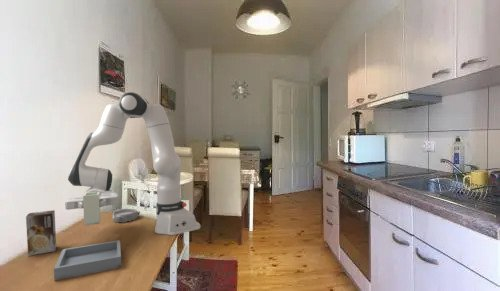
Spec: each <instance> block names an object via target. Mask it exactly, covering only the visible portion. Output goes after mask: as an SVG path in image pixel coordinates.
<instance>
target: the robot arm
mask: <svg viewBox="0 0 500 291" xmlns="http://www.w3.org/2000/svg"><path fill="white" fill-rule="evenodd" d="M129 118H130V119H135V118H139V119H140V118H143V120H144V123H145V125H146V131H147V134H148V138H149V141H150V147H151V148H150V149H151V157H152V165H153V170H154V172H155V173H156V174H157V175H158V177H157V178H158V179H157V186H156V206H155V209H156V223H155V228H154V233H155V234H158V235H167V236H175V235H179V234H180V235H181V234H184V233H188V232H192V231H196V230H197V231H198V230H200V229H201V224H200V223H199V222H198V221H197V220H196V219H197V218H196V216H195V215H194V213H193V212H191V211H190V210H188V209H187V208H186V207H187V203H186V202H185V201H182V200H181V190H180V189H181V170H182V169H181V165H182V161H181V160H182V159H181V158H180V155H178V154H177V153H176V151H175V142H174V136H173V133H172V128H171V124H170V120H169V118H168V115H167V112H166V110H165V108H164V106H163V105H161V104H159V103H151V104H150V103H149V101H148V100H147V99H146V98H144V97H143V96H142V95H140V94H138V93H136V92H133V91H132V92H131V91H129V92H125V93H124V94H122V95H121V96H120V98H119V100H118V103H109V104H107V105H106V106H105V108H104V110H103V112H102V115H101V118H100V120H99V125H98V127H97V129H96V130H95V131H94V132H91V133H89V134H88V136H87V137H86V139H85V141H84V143H83V145H82V147H81V150H80V151H79V154H78V156H77V157H76V160H75V162H74V164H73V166H72V167H71V168H70V170H69V171H68V176H67V180H68V182H69V183H70V184H71V185H72V186H73V187H75V186H76V187H87V188H88V189H87V190H86V192H85V193H90V192H99V196H100V202H99V206H100V208H103V207H107V206H112V205H118V204H119V194H118V193H117V192H115V190H114V189H111V186H112V184H113V183H112V182H113V173H112V171H111V170H110V169H109V168H102V167H95V166H89V165H86V162H87V160H88V159H89V158H88V157H89V156H90V154H91V152H92V150H93V149H94V148H95V147H96V148H97V147H100V146H108V145H112V144H115V143H118V142H120V141H121V139H122V137H123V134H124V131H125V128H126V127H125V126H126V123H127V121H128V119H129ZM64 203H65V210H77V209H79V210H80V209H84V206H83V196H82V197H81V196H80V197H72V198H69V199H66V200H65V202H64Z"/></svg>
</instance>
